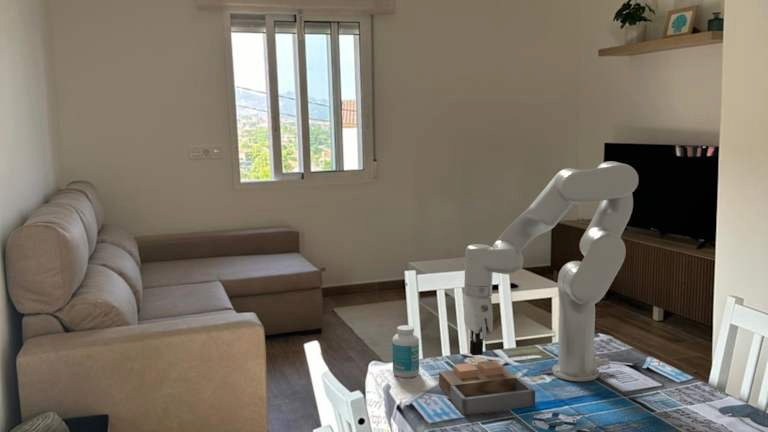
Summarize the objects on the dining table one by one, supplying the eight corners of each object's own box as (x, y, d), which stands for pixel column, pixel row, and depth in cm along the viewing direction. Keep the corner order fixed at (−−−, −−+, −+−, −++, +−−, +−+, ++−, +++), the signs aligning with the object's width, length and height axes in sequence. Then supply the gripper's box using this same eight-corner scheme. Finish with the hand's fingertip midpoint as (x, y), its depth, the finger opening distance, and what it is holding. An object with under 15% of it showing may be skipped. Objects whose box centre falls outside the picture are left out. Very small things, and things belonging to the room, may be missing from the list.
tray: (519, 392, 181) (519, 377, 180) (535, 405, 172) (535, 390, 172) (450, 400, 176) (450, 385, 175) (463, 415, 167) (463, 399, 167)
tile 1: (470, 370, 186) (470, 362, 186) (477, 376, 181) (477, 369, 181) (453, 372, 185) (453, 364, 185) (460, 378, 180) (460, 371, 180)
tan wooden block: (501, 378, 190) (501, 364, 190) (517, 392, 181) (517, 377, 180) (439, 385, 186) (439, 371, 185) (452, 400, 176) (451, 385, 176)
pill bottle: (417, 379, 191) (416, 332, 189) (390, 378, 192) (389, 331, 190) (421, 369, 198) (420, 324, 196) (395, 368, 199) (394, 323, 197)
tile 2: (495, 367, 188) (495, 360, 187) (502, 373, 183) (502, 366, 183) (477, 369, 187) (477, 362, 186) (485, 375, 182) (485, 368, 181)
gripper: (502, 295, 183) (499, 362, 186) (480, 282, 198) (478, 344, 200) (475, 297, 181) (473, 364, 184) (455, 284, 196) (454, 346, 198)
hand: (476, 354), depth 192 cm, fingers closed
